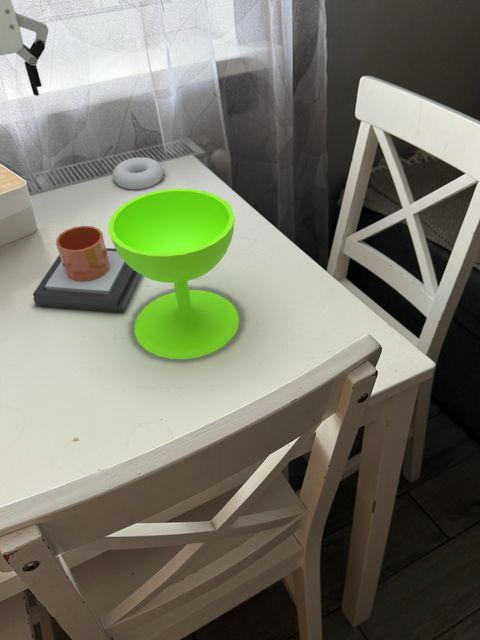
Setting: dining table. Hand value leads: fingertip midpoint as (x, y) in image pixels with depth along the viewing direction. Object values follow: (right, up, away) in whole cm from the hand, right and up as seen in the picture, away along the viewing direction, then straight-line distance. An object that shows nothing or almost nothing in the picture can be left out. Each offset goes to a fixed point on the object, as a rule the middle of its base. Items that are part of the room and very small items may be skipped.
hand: (1, 98), depth 84 cm
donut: (+12, -2, +36) cm, 38 cm away
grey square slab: (+10, -24, +9) cm, 28 cm away
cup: (+10, -23, +8) cm, 26 cm away
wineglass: (+26, -32, +4) cm, 42 cm away
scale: (+10, -26, +11) cm, 30 cm away
